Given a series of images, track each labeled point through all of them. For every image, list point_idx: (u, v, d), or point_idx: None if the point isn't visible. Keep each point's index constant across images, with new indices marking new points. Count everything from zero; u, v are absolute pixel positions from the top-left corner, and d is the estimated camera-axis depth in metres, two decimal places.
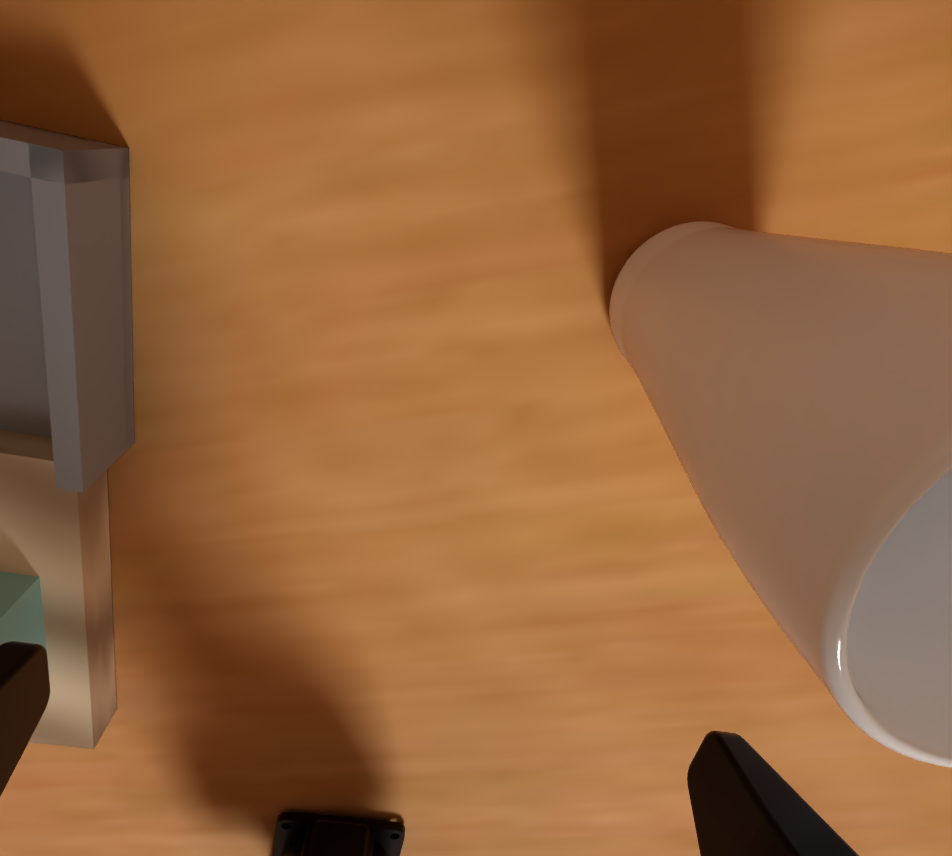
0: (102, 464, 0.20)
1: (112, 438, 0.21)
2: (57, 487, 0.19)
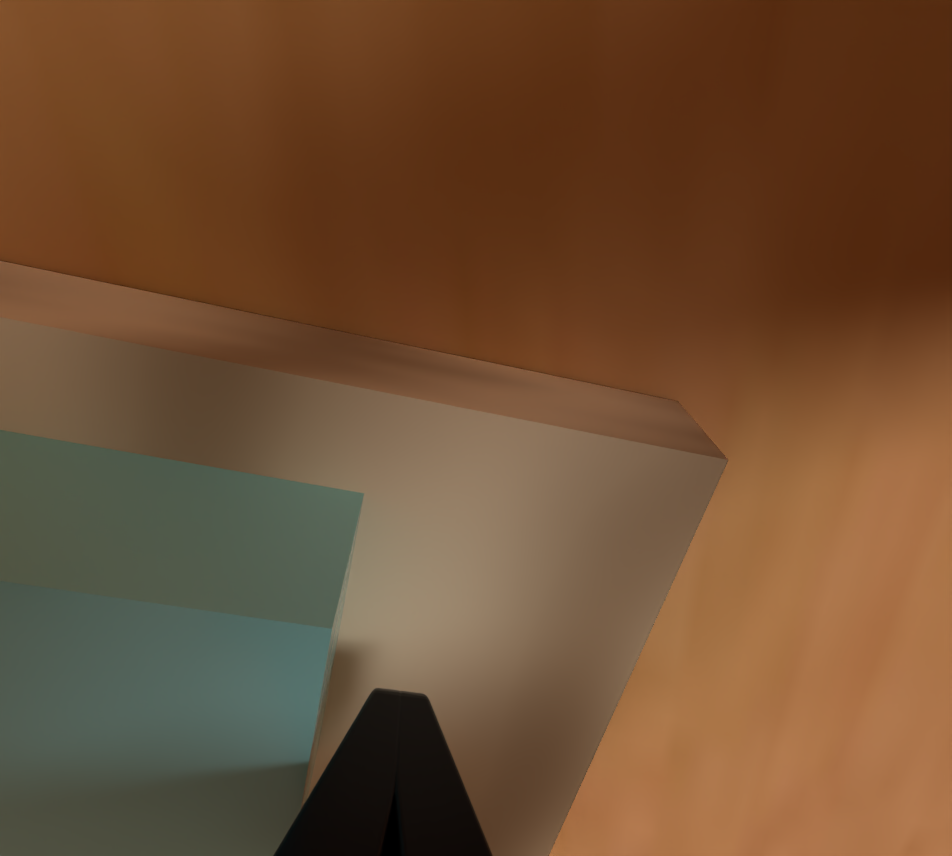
0: None
1: None
2: None
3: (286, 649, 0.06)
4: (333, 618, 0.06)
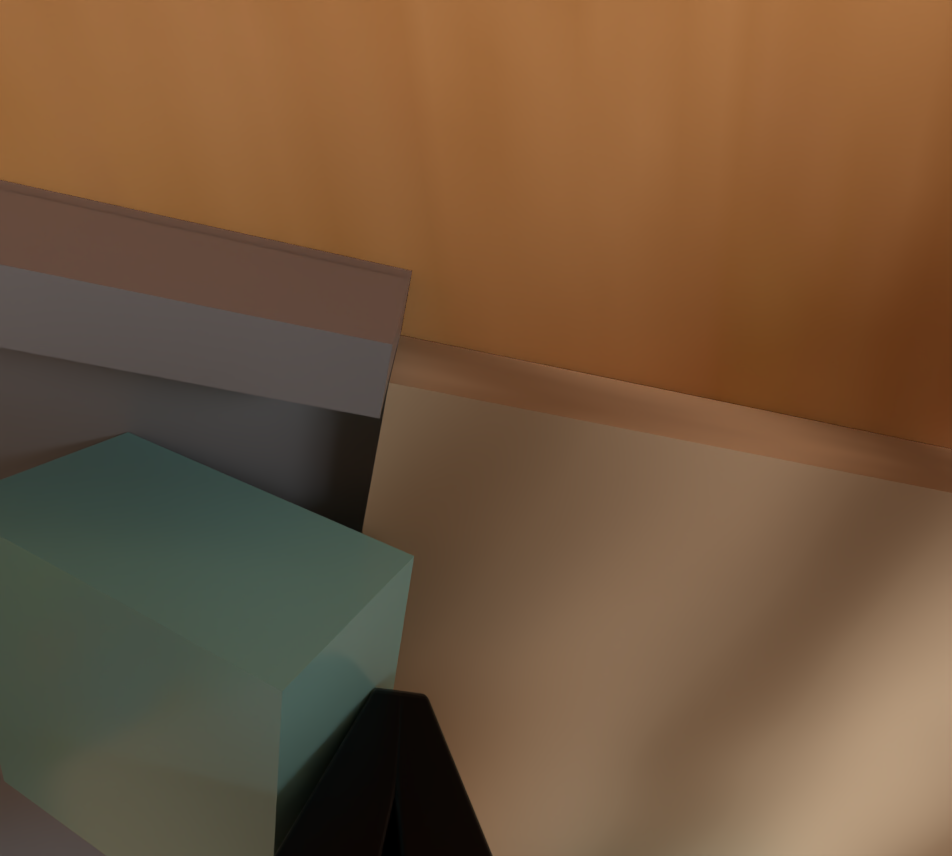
0: (369, 305, 0.07)
1: (327, 279, 0.08)
2: (375, 413, 0.06)
3: (246, 698, 0.06)
4: (291, 681, 0.06)
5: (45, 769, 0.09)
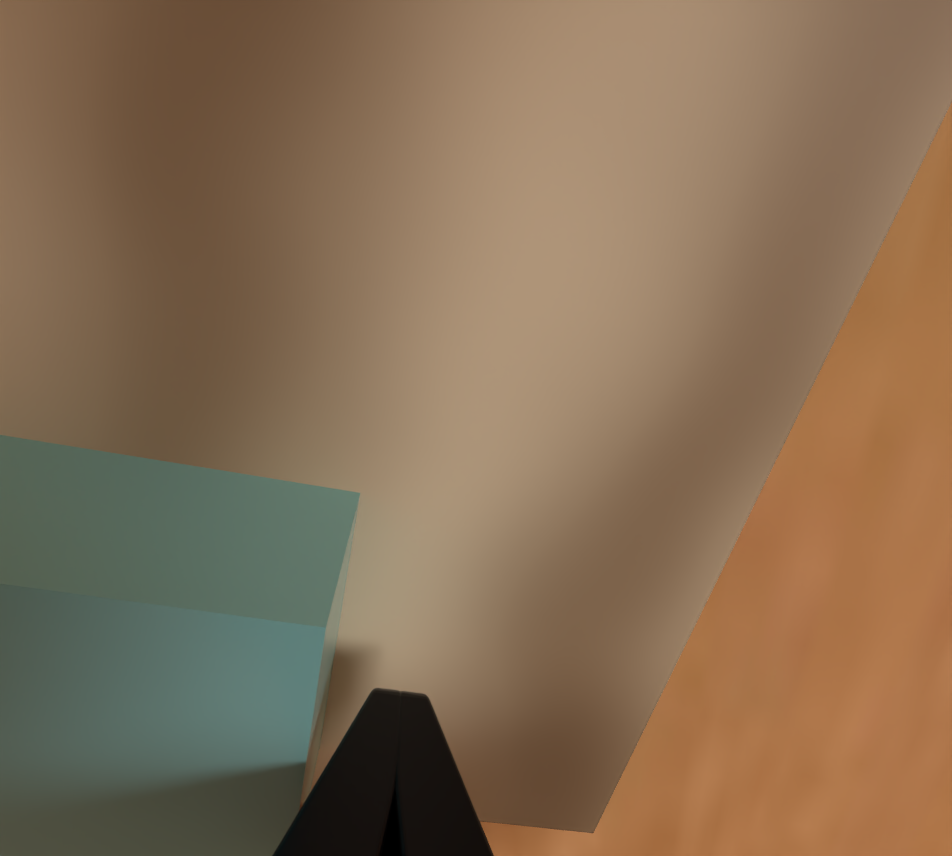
0: None
1: None
2: None
3: None
4: None
5: None
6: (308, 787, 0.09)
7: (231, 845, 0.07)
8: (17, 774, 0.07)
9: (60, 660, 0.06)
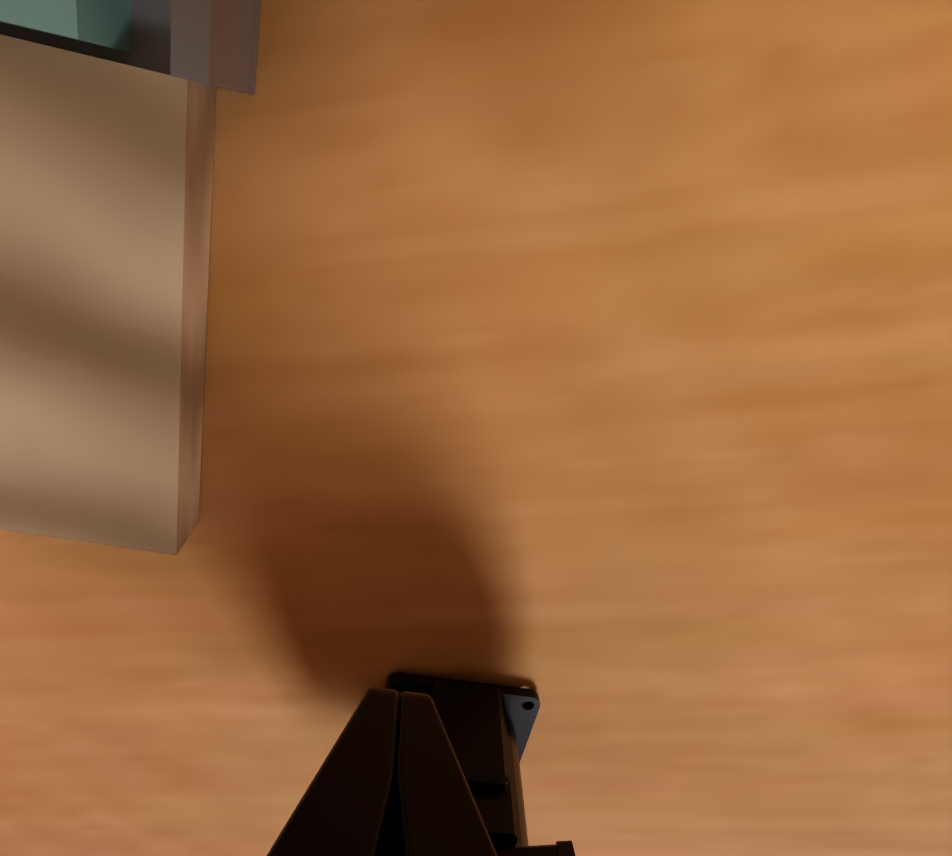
0: (227, 71, 0.14)
1: (238, 46, 0.15)
2: (172, 73, 0.13)
3: (59, 13, 0.13)
4: (81, 39, 0.13)
5: None
6: None
7: None
8: None
9: None
